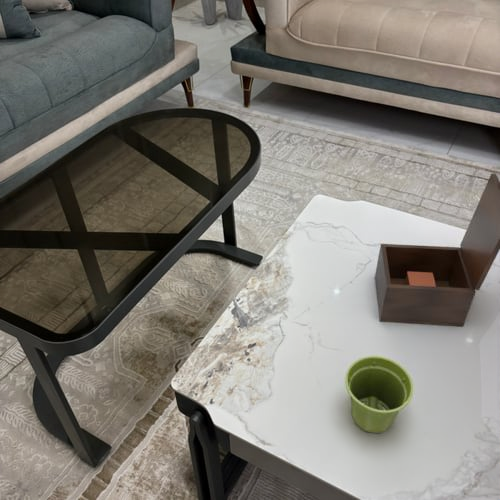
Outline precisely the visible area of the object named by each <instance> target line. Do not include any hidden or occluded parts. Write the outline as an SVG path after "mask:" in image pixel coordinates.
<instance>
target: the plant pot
mask: <svg viewBox="0 0 500 500" xmlns="http://www.w3.org/2000/svg"><path fill="white" fill-rule="evenodd" d="M344 381H345V388H346V390H347V393H348V394H349V396H350V409H351V417H352V420H353V422H354V424H356V426H357V427H358V428H360V429H361V430H363V431H364V432H368V433H369V432H370V433H373V434H381V433H384V432H386V431H387V430H388V429H389V428H390V427H391V426H392V424H393V422H394V421H395V419H396V417H397V415H398V413H400V411H401V410H403V409H405V408H406V407H407V406H408V405H409V404H410V402H411V400H412V398H413V395H414V383H413V380H412V377H411V375H410V374H409V372H408V371H407V370H406V368H404V367H403V366H402V365H400V364H399V363H398V362H396V361H395V360H393V359H391V358H389V357H385V356H380V355H369V356H368V355H367V356H364V357H361V358H358V359H357V360H355V361H354V362H353V363H351V364H350V365H349V367H348V369H347V370H346V373H345V377H344ZM363 402H364V403H363Z"/></svg>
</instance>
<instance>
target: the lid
mask: <svg viewBox="0 0 500 500" xmlns="http://www.w3.org/2000/svg"><path fill="white" fill-rule="evenodd" d="M459 246H460V247H461V250H462V253H463V256H464V259H465V262H466V265H467V268H468V271H469V274H470V277H471V281H472V284H473V287H474V290H475V291H480V290H481V287H482V285H483V284H484V281H485V279H486V278H487V275H488V274H489V272H490V270H491V268H492V266H493V264H494V262H495V260H496V258H497V256H498V254H499V253H500V178H499V177H498V175H497V173H491V174H490V176H489V178H488V179H487V183H486V185H485V188H484V190H483V192H482V194H481V196H480V199H479V201H478V203H477V205H476V207H475V210H474V213H473V215H472V217H471V219H470V221H469V224H468V226H467V228H466V231H465V232H464V235H463V237H462V240H461V242H460V244H459Z"/></svg>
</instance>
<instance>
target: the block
mask: <svg viewBox="0 0 500 500" xmlns="http://www.w3.org/2000/svg"><path fill="white" fill-rule="evenodd" d="M404 285H414V286H432V287H436V284H435V280H434V276H433V273H429V272H410V271H407V275H406V279H405V283H404Z"/></svg>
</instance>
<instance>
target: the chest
mask: <svg viewBox="0 0 500 500" xmlns="http://www.w3.org/2000/svg"><path fill="white" fill-rule="evenodd" d="M407 271H410V272H429V273H433V276H434V280H435V284H436V287H432V286H414V285H404V283H405V279H406V275H407ZM374 283H375V284H374V285H375V293H376V300H377V301H376V302H377V310H378V318H379V322H380V323H381V322H383V323H397V324H398V323H399V324H413V325H430V326H431V325H432V326H444V327H460V328H461V327H462V328H463V327H464V325H465V322H466V320H467V317H468V314H469V312H470V309H471V306H472V303H473V300H474V298H475V295H476V292H477V290H474V287H473V284H472V281H471V277H470V274H469V271H468V268H467V265H466V262H465V259H464V256H463V253H462V250H461V246H460V247H458V246H440V245H436V246H435V245H418V244H417V245H416V244H415V245H414V244H397V243H396V244H395V243H394V244H393V243H380V246H379V252H378V258H377V263H376V268H375V274H374Z"/></svg>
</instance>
